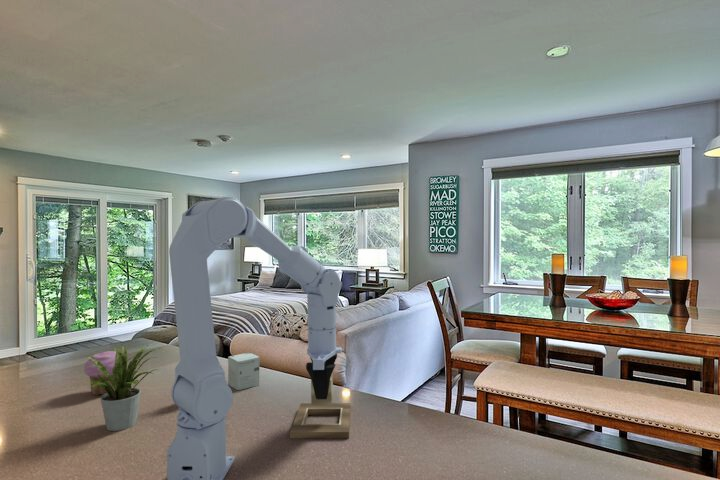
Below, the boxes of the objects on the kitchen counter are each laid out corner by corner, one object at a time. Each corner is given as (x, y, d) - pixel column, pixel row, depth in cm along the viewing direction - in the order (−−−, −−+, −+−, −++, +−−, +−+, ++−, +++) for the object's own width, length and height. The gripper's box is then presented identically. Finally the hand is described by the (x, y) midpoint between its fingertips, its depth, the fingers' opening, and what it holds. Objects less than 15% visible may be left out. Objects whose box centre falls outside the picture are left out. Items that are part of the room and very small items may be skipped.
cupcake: (79, 400, 93) (78, 358, 93) (91, 387, 102) (90, 348, 102) (122, 395, 96) (121, 354, 96) (130, 383, 104) (130, 345, 104)
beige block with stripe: (331, 405, 79) (331, 379, 79) (311, 405, 79) (311, 379, 79) (333, 397, 83) (332, 372, 83) (313, 397, 83) (313, 372, 83)
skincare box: (237, 391, 98) (237, 361, 98) (227, 384, 103) (227, 356, 103) (260, 385, 102) (259, 356, 102) (249, 379, 107) (249, 351, 107)
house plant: (180, 419, 83) (179, 341, 83) (111, 449, 71) (110, 358, 71) (140, 405, 90) (140, 333, 90) (71, 431, 78) (70, 348, 78)
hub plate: (348, 438, 74) (348, 431, 74) (290, 438, 75) (290, 431, 75) (350, 408, 87) (350, 402, 87) (300, 408, 88) (300, 403, 88)
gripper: (339, 335, 74) (340, 409, 74) (343, 319, 88) (344, 381, 88) (301, 336, 74) (302, 409, 74) (311, 320, 88) (312, 381, 88)
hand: (322, 394), depth 81 cm, fingers closed on beige block with stripe, 4 cm apart
